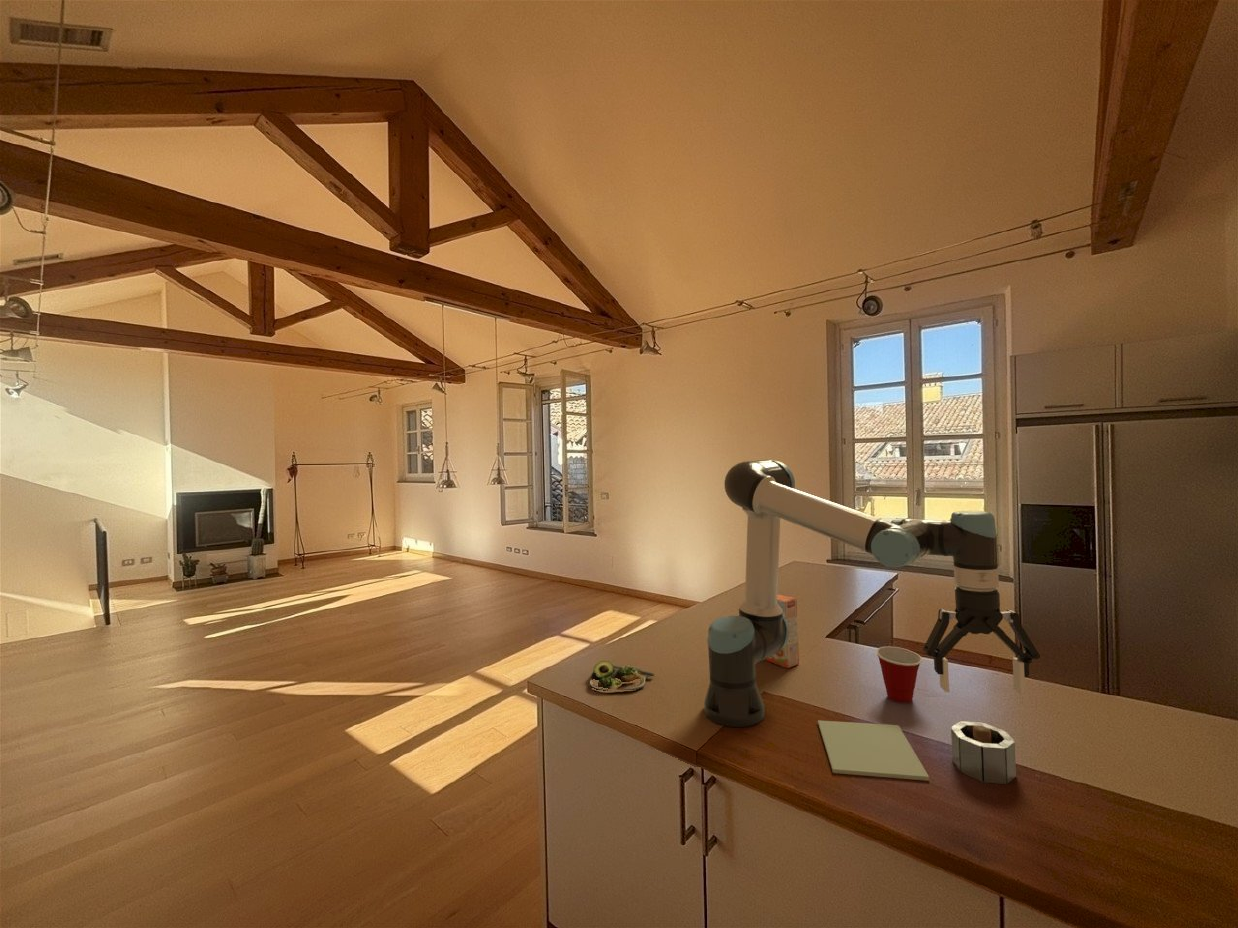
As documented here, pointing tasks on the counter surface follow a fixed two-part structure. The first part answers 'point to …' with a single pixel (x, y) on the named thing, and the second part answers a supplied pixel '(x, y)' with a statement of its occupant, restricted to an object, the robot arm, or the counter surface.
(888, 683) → the plastic cup
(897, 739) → the sage mat
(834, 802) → the counter surface
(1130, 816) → the counter surface
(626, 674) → the salad plate
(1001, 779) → the grey hollow octagonal ring
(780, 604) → the cracker box
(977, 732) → the tan peg with base
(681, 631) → the counter surface
